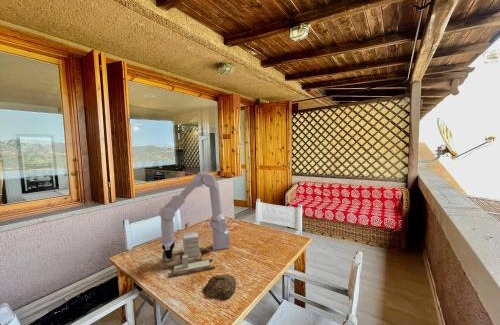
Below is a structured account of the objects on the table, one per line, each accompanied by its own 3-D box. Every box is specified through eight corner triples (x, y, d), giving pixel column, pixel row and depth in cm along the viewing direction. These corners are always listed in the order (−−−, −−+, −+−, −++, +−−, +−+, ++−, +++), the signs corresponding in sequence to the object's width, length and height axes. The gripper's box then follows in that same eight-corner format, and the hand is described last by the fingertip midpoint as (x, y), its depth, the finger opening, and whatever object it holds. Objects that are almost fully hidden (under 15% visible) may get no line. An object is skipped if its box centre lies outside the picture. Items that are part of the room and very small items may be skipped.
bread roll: (239, 281, 91) (238, 269, 91) (231, 301, 79) (231, 288, 79) (210, 278, 94) (209, 267, 93) (198, 298, 81) (198, 285, 81)
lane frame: (209, 250, 120) (209, 248, 119) (214, 268, 101) (214, 266, 101) (170, 256, 113) (170, 254, 113) (169, 277, 95) (169, 275, 95)
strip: (208, 262, 107) (208, 250, 106) (210, 267, 102) (209, 254, 101) (174, 268, 102) (173, 255, 101) (174, 274, 97) (173, 261, 97)
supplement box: (184, 256, 113) (182, 233, 112) (198, 254, 116) (197, 230, 115) (184, 263, 106) (183, 238, 105) (199, 260, 109) (198, 236, 108)
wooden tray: (199, 252, 117) (199, 243, 116) (201, 261, 107) (201, 251, 107) (164, 258, 111) (163, 249, 111) (162, 268, 102) (161, 258, 101)
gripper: (160, 227, 112) (161, 252, 113) (157, 238, 98) (159, 267, 99) (174, 225, 114) (175, 250, 115) (173, 235, 100) (175, 264, 101)
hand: (169, 258), depth 107 cm, fingers closed
